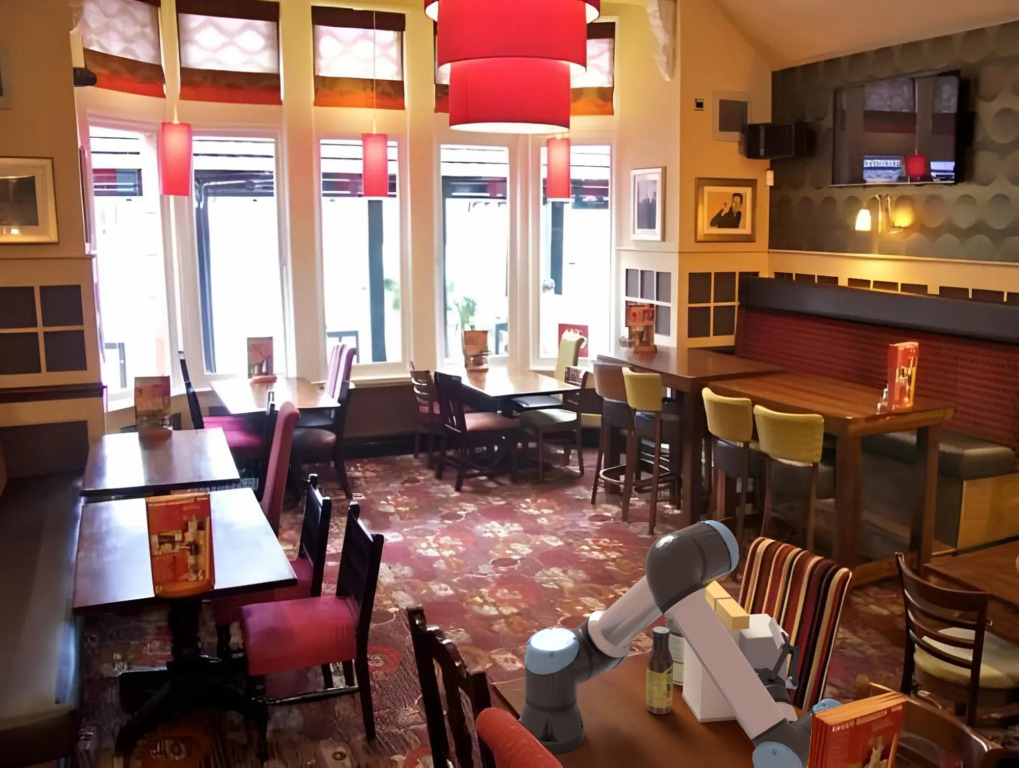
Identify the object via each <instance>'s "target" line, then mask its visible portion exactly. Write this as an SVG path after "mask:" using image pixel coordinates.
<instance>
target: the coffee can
mask: <svg viewBox="0 0 1019 768" xmlns="http://www.w3.org/2000/svg"><path fill="white" fill-rule="evenodd" d="M664 627H665V628H668V629H669V630H670V636H669V650H670V653H671V656H672V659H673V662H674V665H673V666H674V667H673V685H677V686H681V687H683V681H684V654H685V638H684V636H683V635H682V633H681V632H680V630H679V629H678V627H677V626H676V624H675V623H674V621H673V620H672V619H670V618H668V619H667V620H666V622H665V625H664Z"/></svg>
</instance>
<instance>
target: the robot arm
mask: <svg viewBox="0 0 1019 768" xmlns="http://www.w3.org/2000/svg"><path fill="white" fill-rule="evenodd" d="M739 559H740V554H739V545H738V542H737V540H736V536H734V534H733V533H732V531H731V530H730V529H729V528H728V527H727V526H726V525H724V524H723V523H721V522H719V521H716V520H713V519H712V520H705V521H704V520H702V521H697V522H696V523H694V524H691V525H689V526H686V527H684V528H682V529H678V530H676V531H673V532H669V533H667V534H663V535H661V536H659V537H658V538H657V539H656V540H655V541H654V542H653V543H652V545H651V546H649V549H648V551H647V554H646V557H645V564H644V565H645V567H644V568H645V575H644V576H643V577H641V578H640V579H639V580H638V581H637V582H636V583H635V584H634V585H632V587H631V588H630V587H629V589H628V590H627V591H626V592H625V593H624V594H623V595H621V596H620V597H619V598H618V599H617V600H616V601H615V602H614V603H613V604H612V605H610V607H609V608H607V609H606V610H605V609H599V610H596V611H594V612H593V613H591V615H590V616H589V617H587V618H586V619H585V620H584V621H582V623H581V624H579V625H578V626H576V627H574V628H571V629H567V628H564V627H553V628H544V629H541V630H539V631H537V632H535V633H534V634H533V635H531V636H530V638H529V639H528V640H527V642H526V646H525V654H524V670H525V672H524V674H525V675H524V681H525V682H524V683H525V684H524V685H525V686H524V687H525V689H524V690H525V691H524V693H525V695H524V699H525V701H524V704H523V707H522V710H521V715H520V717H519V719H518V721H520V722H521V723H522V724H523V725H524V726H525V727H526V728H527V729H528V730H529V731H531V732H532V733H533V734H534V735H535V736H536V737H537V738H538V739H539V741H540V742H541V743H542V744H543V745H544V746H546V747H547V748H548V749H549V750H550V751H551V752H552V753H551V754H561V753H566V752H569V751H573V750H574V749H576V748H578V747H579V746H580V745H581V744H582V743H583V742H584V739H585V724H584V722H583V717H582V715H581V712H580V709H579V706H578V686H579V685H580V684H583V683H585V682H587V681H590V680H591V679H593V678H595V677H597V676H599V675H601V674H603V673H606V672H608V671H610V670H614V669H616V668H617V667H619V666H620V665H621V664H622V663H623V662H624V661H625V660H627V657H628V655H629V653H630V651H631V648H632V645H633V644H632V642H633V640H634V639H635V638H636V637H638V636H639V635H641V633H643V632H644V631H645V630H646V629H647V628H649V627H650V626H651V625H652V624H653V623H654V622H656V621H657V620H658V619H659V618H660V617H662V616H663V617H664V618H667V619H672V620H673V621H674V623H675V624H676V626H677V627H678V629H679V630H680V632H681V633H682V635H683V636H684V638H685V640H686V641H687V643H688V644H689V646H690V647H691V649H692V650H693V652H694V653H695V655H696V656H697V658H698V659H699V661H700V663H701V664H702V666H703V667H704V669H705V670H706V672H707V673H708V675H709V676H710V678H711V679H712V681H713V682H714V684H715V686H716V687H717V689H718V690H719V692H720V693H721V695H722V696H723V698H724V699H725V701H726V702H727V704H728V705H729V707H730V708H731V710H732V712H733V713H734V715H735V716H736V718H737V719H738V721H739V722H740V724H741V725H742V727H743V728H742V727H741V728H742V729H743V730H744V732H745V733H746V734H747V736H748V737H749V739H750V741H751V742H752V744H753V745H754V748H755V749H754V750H753V752H752V763H753V767H754V768H807V765H808V757H809V746H810V736H811V728H812V714H813V713H815V712H819V711H823V710H826V709H830V708H834V707H838V706H841V705H843V703H841V702H840V701H838V700H835V699H833V698H824V699H822V700H820V701H819V702H818V703H817V704H815V705H813V706H812V708H811V709H810V710H809V711H808V712H806V713H805V714H804V715H802V716H801V717H799V718H798V716H797V713H796V710H795V707H794V706H793V703H792V701H791V698H790V695H789V692H788V690H787V689H790V691H791V692H796V690H797V688H798V687H799V684H800V681H799V678H798V670H799V663H800V662H799V661H800V654H801V647H800V646H799V645H794V646H793V645H791V644H790V642H789V639H788V640H787V637H786V635H785V633H784V632H780V629H779V627H778V625H779V624H778V622H777V619H776V618H775V617H771V620H770V622H769V625H768V626H769V628H770V631H771V633H772V636H773V638H774V641H775V643H776V646H777V648H778V650H782V649H783V651H782V653H781V655H780V657H779V659H778V661H777V663H776V664H775V666H774V668H773V670H770V669H768V668H763V669H758V668H755V669H753V668H752V667H751V665H750V664H749V662H748V661H747V659H746V658H745V656H744V655H743V653H742V652H741V650H740V649H739V647H738V646H737V644H736V643H735V641H734V640H733V638H732V637H731V635H730V634H729V632H728V631H727V629H726V628H725V626H724V625H723V623H722V622H721V620H720V619H719V617H718V616H717V614H716V613H715V611H714V610H713V608H712V607H711V605H710V604H709V602H708V601H707V599H706V597H705V596H706V587H707V586H709V585H710V584H711V583H712V582H713V581H716V580H717V579H719V578H721V577H725V576H728V575H729V574H730V573H731V572H733V571H734V570H735V569H736V567H737V566H738V563H739ZM788 655H791V656H790V662H789V663H790V664H789V668H788V669H789V670H788V677H786V682H785V681H784V680H783V679H782V678H781V677H779V676H778V673H779V671H780V669H781V667H782V665H783V663H784V661H785V659H786V657H787V658H788ZM785 688H786V689H785ZM740 724H739V725H740Z"/></svg>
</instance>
